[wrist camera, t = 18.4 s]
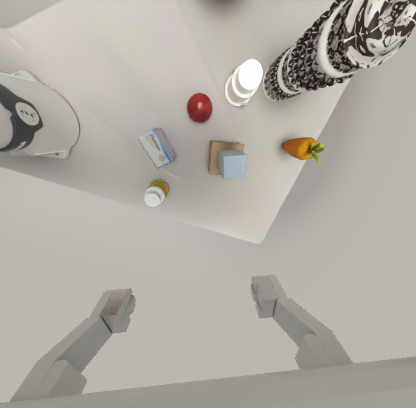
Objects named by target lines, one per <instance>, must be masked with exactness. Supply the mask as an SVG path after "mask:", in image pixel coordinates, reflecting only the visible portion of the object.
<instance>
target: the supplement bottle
mask: <svg viewBox="0 0 416 408" xmlns="http://www.w3.org/2000/svg"><path fill="white" fill-rule="evenodd" d="M168 191H169V186H168V184H167V183H166V182H165V181H163V180H155V181H154V182H153V183H152V184H151V185H150V186H149V187H148V188H147V190H146V191H145V197H144V201H145V203H146V204H147V205H148V206H150V207H156V206H158V205H159V204H161V203H162V202H163V201H164V199H165V197H166V195H167V193H168Z"/></svg>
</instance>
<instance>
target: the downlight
mask: <svg viewBox="0 0 416 408" xmlns="http://www.w3.org/2000/svg"><path fill="white" fill-rule="evenodd" d="M235 69H236V70H235ZM234 70H235V72H234V73H233V74H232V75H231V76H230V77H229V78H228V80H227V82H226V85H225V95H226V98H227V100H228V102H229V103H230V104H232V105H234V106H242V105H244V106H245V105H248V104H249V103H248V104H247V102H248V101H249V100H250V98H251V96H252V95H253V94H254V93H255V92H256V90H257V88H258V86H259V84H260V82H261V80H262V76H263V70H262V66H261V64H260V63H259V62H258V61H256V60H254V59H250V60H247V61H246V62H244V63H243V64H242V65H238V66H236V67H235V68H234Z"/></svg>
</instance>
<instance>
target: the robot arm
mask: <svg viewBox="0 0 416 408" xmlns="http://www.w3.org/2000/svg"><path fill="white" fill-rule="evenodd" d="M78 136H79V124H78V120H77V117H76V115H75V113H74V111H73V110H72V108H71V106H70V105H69V104H68V103H67V101H66V100H65V99H64V98H63V97H62V96H60V95H59V94H58V93H57V92H55V91H54V90H52V89H50V88H48V87H47V86H45V85H43V84H42V83H41V82H40V81H39V80H38V79H37V78H36V77H35V76H34V75H33V74H31V73H30V72H28V71H24V70H20V71H17V72H14V73H11V74H6V73H2V72H0V152H9V153H10V155H11V156H14V157H20V156H34V155H35V156H43V157H52V158H60V159H66V158H68V157H69V154H70V149H71V147H72V146H73V145H74V144H75V143H76V141H77V139H78ZM57 153H58V154H59V155H58V154H57ZM251 293H252V297H253V300H254V301H255V302H256V309H257V312H258V315H259V318H268V317H273V319H274V320H275V321H276V322H277V323H278V324H279V325H280V326H281V328H282V329H283V330H284V331H285V332H286V333H287V334H288V335H289V336H290V338H291V339H292V340H293V341H294V342H295V343H296V344H297V345H298V346H299V350H298V352H297V354H296V357H295V360H296V362H297V364H298V367H299V369H300V370H291V371H282V372H273V373H265V374H255V375H247V376H238V377H229V378H220V379H211V380H202V381H193V382H184V383H175V384H166V385H157V386H149V387H140V388H131V389H122V390H113V391H104V392H95V393H86V394H82V391H83V389H84V387H85V385H86V382H87V380H86V378H85V377H84V376H83V375H82V374H81V372H82V371H83V370H84V368H85V367H86V366H87V365H88V363H89V362H90V361H91V360H92V358H93V357H94V356H95V355H96V354H97V352H98V351H99V350H100V349H101V347H102V346H103V345H104V343H105V342H106V341H107V340H108V339H109V338H110V336H111V335H112V333H120V332H126V330H127V328H128V325H129V322H130V315H131V313H132V312H133V311H134V308H135V297H134V296H133V295H132V290H131V289H118V290H117V289H116V290H106V291H105V292H104V293H103V295H102V297H101V298H100V300H99V302H98V303H97V305H96V307H95V309H94V310H93V312H92V314H91V315H90V317H89V318H86V319H85V320H84V321H83V322H82V323H81V324H80V325H78V326H77V327H76V328H75V329H74V330H73V331H72V332H70V333H69V334H68V335H67V336H66V337H65V338H64V339H62V340H61V341H60V342H59V343H58V344H57V345H56V346H54V347H53V348H52V349H51V350H50V351H49V352H48V353H46V354H45V355H44V356H43V357H42V358H41V359H40V360H38V361H37V363H36V364H35V366H34V367H33V368H32V370H31V371H30V373H29V374H28V375H27V377H26V379H25V380H24V381H23V383H22V384H21V386H20V387H19V389H18V390H17V391H16V393H15V394H14V396H13V397H12V399H11V400H10V401H9V402H6V403H0V408H416V356H415V357H407V358H399V359H390V360H381V361H372V362H363V363H354V364H353V362H352V361H351V359H350V358H349V356H348V355H347V353H346V352H345V350H344V349H343V347H342V346H341V344H340V343H339V341H338V340H337V339H336V337H335V335H334V334H333V332H332V331H331V330H330V329H328V328H327V327H326V326H324V325H323V324H322V323H321V322H320V321H318V320H317V319H316V318H315V317H313V316H312V315H311V314H310V313H308V312H307V311H306V310H304V309H303V308H302V307H301V306H299V305H298V304H297V303H295V302H294V301H293V300H292V299H290V298H289V299H288V298H287V296H286V294H285V292H284V290H283V288H282V286H281V285H280V283H279V281H278V279H277V277H276V276H275V275H264V276H255V277H252V284H251Z"/></svg>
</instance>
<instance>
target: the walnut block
mask: <svg viewBox="0 0 416 408" xmlns="http://www.w3.org/2000/svg"><path fill="white" fill-rule="evenodd" d="M230 149H236V150H238V151H240V152H242V153H243V149H244V145H243V144H240V143H233V142H221V141H211V142H210V155H209V167H208V170H209V173H210V174H215V175H222V174H221V172H220V170H219V168H218V150H230Z"/></svg>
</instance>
